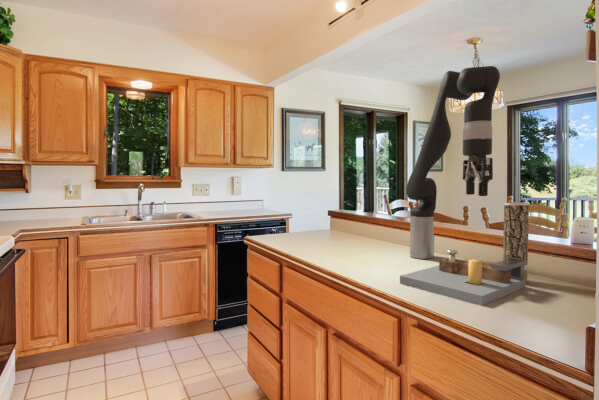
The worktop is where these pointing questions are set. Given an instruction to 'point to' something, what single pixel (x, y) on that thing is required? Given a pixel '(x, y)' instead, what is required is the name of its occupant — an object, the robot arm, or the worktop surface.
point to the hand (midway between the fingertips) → (476, 195)
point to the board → (459, 285)
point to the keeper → (511, 268)
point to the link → (462, 268)
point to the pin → (475, 272)
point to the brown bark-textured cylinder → (516, 232)
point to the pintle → (452, 255)
